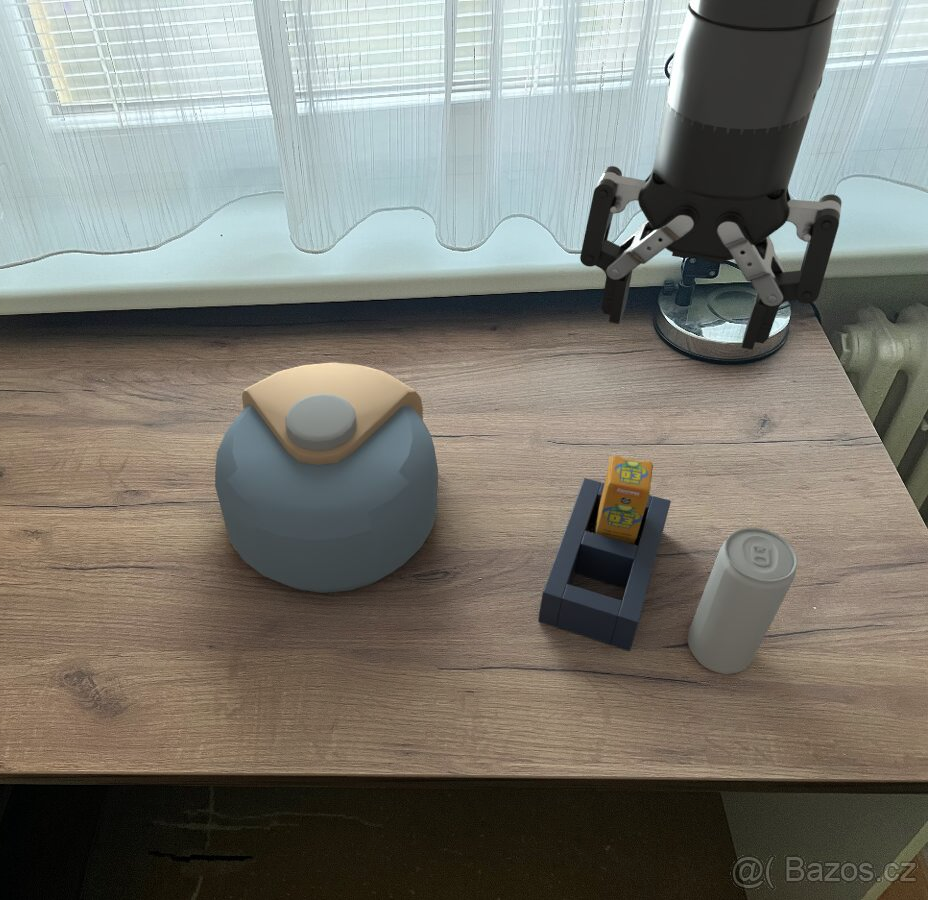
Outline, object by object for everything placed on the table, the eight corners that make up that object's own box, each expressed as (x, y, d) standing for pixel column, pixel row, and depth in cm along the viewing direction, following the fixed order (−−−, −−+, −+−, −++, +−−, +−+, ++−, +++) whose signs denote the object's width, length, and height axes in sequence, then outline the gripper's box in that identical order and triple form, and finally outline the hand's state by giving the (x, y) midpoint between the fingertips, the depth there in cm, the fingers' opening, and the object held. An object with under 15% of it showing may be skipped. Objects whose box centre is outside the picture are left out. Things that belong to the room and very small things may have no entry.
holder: (662, 530, 75) (671, 500, 73) (629, 651, 68) (638, 622, 65) (578, 507, 78) (584, 477, 75) (537, 621, 70) (542, 592, 67)
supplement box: (588, 561, 74) (605, 481, 67) (593, 531, 76) (609, 450, 69) (629, 569, 73) (651, 489, 66) (633, 538, 75) (654, 457, 68)
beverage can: (751, 629, 68) (797, 532, 59) (753, 684, 65) (803, 588, 56) (685, 617, 69) (721, 520, 61) (685, 670, 66) (722, 575, 57)
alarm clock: (438, 435, 86) (439, 338, 77) (435, 606, 72) (436, 511, 63) (247, 433, 88) (227, 338, 80) (208, 598, 74) (180, 505, 66)
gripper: (592, 108, 48) (562, 341, 60) (884, 138, 43) (790, 386, 55) (621, 55, 53) (588, 280, 64) (888, 76, 48) (800, 317, 59)
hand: (681, 329), depth 59 cm, fingers open, 8 cm apart
